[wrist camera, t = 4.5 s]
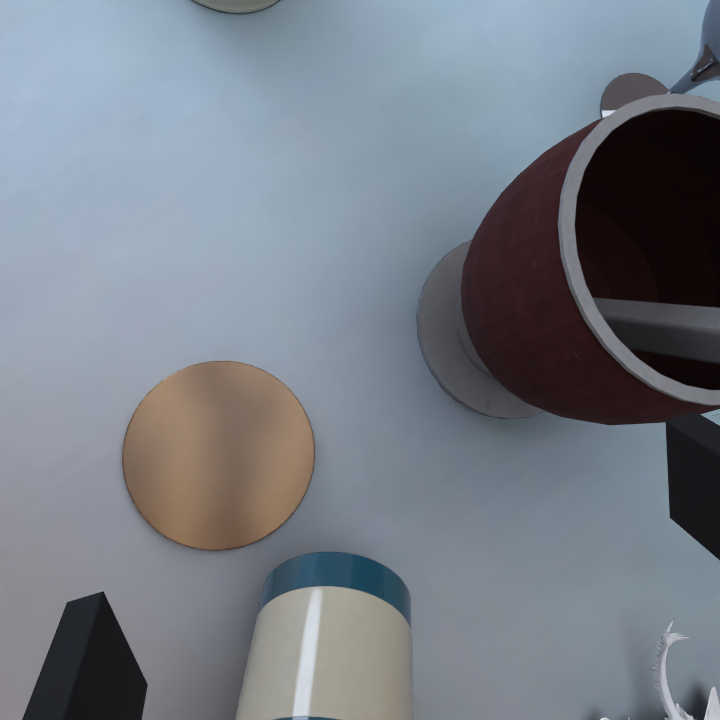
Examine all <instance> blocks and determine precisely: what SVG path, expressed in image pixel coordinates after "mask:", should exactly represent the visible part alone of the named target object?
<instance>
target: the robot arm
mask: <svg viewBox="0 0 720 720" xmlns="http://www.w3.org/2000/svg"><path fill="white" fill-rule="evenodd" d="M666 440H667V463H668V485H669V508H670V518H671V519H672V520H673V521H675V522H676V523H677V524H678V525H679V526H680V527H682V528H683V529H684V530H685V531H686V532H687V533H689V534H690V535H691V536H692V537H693V538H694V539H696V540H697V541H698V542H699V543H700V544H701V545H703V546H704V547H705V548H706V549H707V550H708V551H710V552H711V553H712V554H713V555H714V556H715V557H717V558H718V559H719V560H720V426H719V425H717V424H715V423H714V422H712V421H710V420H709V419H707V418H705V417H703V416H702V415H700V414H698V413H696V412H694V413H690V414H687V415H684V416H680V417H677V418H674V419H670V420H667V421H666ZM147 685H148V684H147V682H146V680H145V678H144V676H143V674H142V672H141V670H140V668H139V665H138V663H137V661H136V659H135V657H134V655H133V653H132V651H131V649H130V646H129V644H128V642H127V640H126V638H125V636H124V634H123V632H122V630H121V627H120V625H119V623H118V621H117V619H116V617H115V615H114V613H113V611H112V608H111V606H110V604H109V602H108V600H107V598H106V596H105V594H104V592H100V593H96V594H93V595H90V596H86V597H83V598H80V599H77V600H73V601H70V602H67V604H66V607H65V609H64V612H63V615H62V617H61V620H60V622H59V625H58V628H57V630H56V633H55V635H54V638H53V641H52V643H51V646H50V649H49V651H48V654H47V656H46V659H45V662H44V664H43V667H42V669H41V672H40V675H39V677H38V680H37V683H36V685H35V688H34V690H33V693H32V696H31V698H30V701H29V703H28V706H27V709H26V711H25V714H24V717H23V719H22V720H142V714H143V708H144V702H145V697H146V691H147Z"/></svg>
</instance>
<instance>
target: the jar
mask: <svg viewBox="0 0 720 720" xmlns="http://www.w3.org/2000/svg"><path fill="white" fill-rule="evenodd" d="M234 720H414V718H413V665H412V632H411V598H410V593H409V591H408V589H407V587H406V585H405V584H404V582H403V581H402V580H401V579H400V577H399V576H398V575H397V574H395V573H394V572H393V571H392V570H390V569H389V568H387V567H386V566H384V565H382V564H380V563H378V562H376V561H374V560H371V559H369V558H366V557H362V556H359V555H354V554H349V553H341V552H318V553H311V554H305V555H302V556H298V557H295V558H293V559H290V560H288V561H286V562H284V563H282V564H281V565H279V566H278V567H277V568H275V569H274V570H273V571H272V572H271V573H270V575H269V576H268V577H267V579H266V581H265V583H264V585H263V590H262V595H261V599H260V604H259V609H258V613H257V618H256V621H255V626H254V630H253V635H252V639H251V644H250V649H249V653H248V658H247V663H246V667H245V672H244V677H243V681H242V686H241V691H240V695H239V700H238V705H237V709H236V714H235V718H234Z"/></svg>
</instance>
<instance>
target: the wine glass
mask: <svg viewBox="0 0 720 720" xmlns="http://www.w3.org/2000/svg"><path fill="white" fill-rule="evenodd" d="M715 80H720V0H710V1H709V3H708V6H707V8H706V11H705V15H704V19H703V24H702V32H701V43H700V51H699V54H698V57H697V59H696V61H695V63H694V65H693V66H692V68H691V69H690V70H689V71H688V72H687V73H686V74H685V75H684V76H683V77H682V78H681V79H680V80H679V81H678V82H677V83H676V84H675V85H674V86H673V87H672V88H671V89H670V90H668V89H667V88H666V87H665V86H664V85H663V84H661V83H660V82H659V81H657V80H656V79H654V78H652V77H650V76H648V75H644V74H640V73H628V74H624V75H621V76H618V77H617V78H615V79H614V80H612V81H611V82H610V83H609V85H608V86H607V87H606V89H605V91H604V93H603V96H602V100H601V116H602V118H604V117H607V116H609V115H610V114H612V113H613V112H615V111H616V110H618V109H619V108H621V107H622V106H624V105H625V104H628V103H631V102H634V101H636V100H639V99H642V98H645V97H647V96H654V95H663V94H672V93H675V94H684V93H686V92H688V91H689V90H691V89H693V88H695V87H697V86H699V85H701V84H703V83H705V82H709V81H715Z"/></svg>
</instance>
